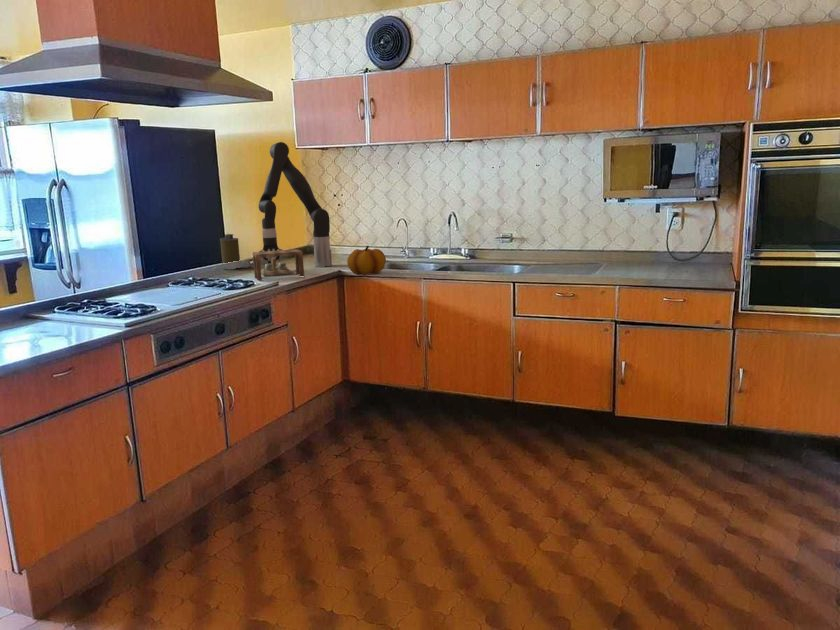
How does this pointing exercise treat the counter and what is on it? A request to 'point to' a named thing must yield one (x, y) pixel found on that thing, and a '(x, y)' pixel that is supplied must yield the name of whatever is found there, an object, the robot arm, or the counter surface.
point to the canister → (229, 249)
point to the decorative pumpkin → (366, 261)
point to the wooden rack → (295, 252)
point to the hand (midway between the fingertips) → (272, 267)
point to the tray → (274, 268)
